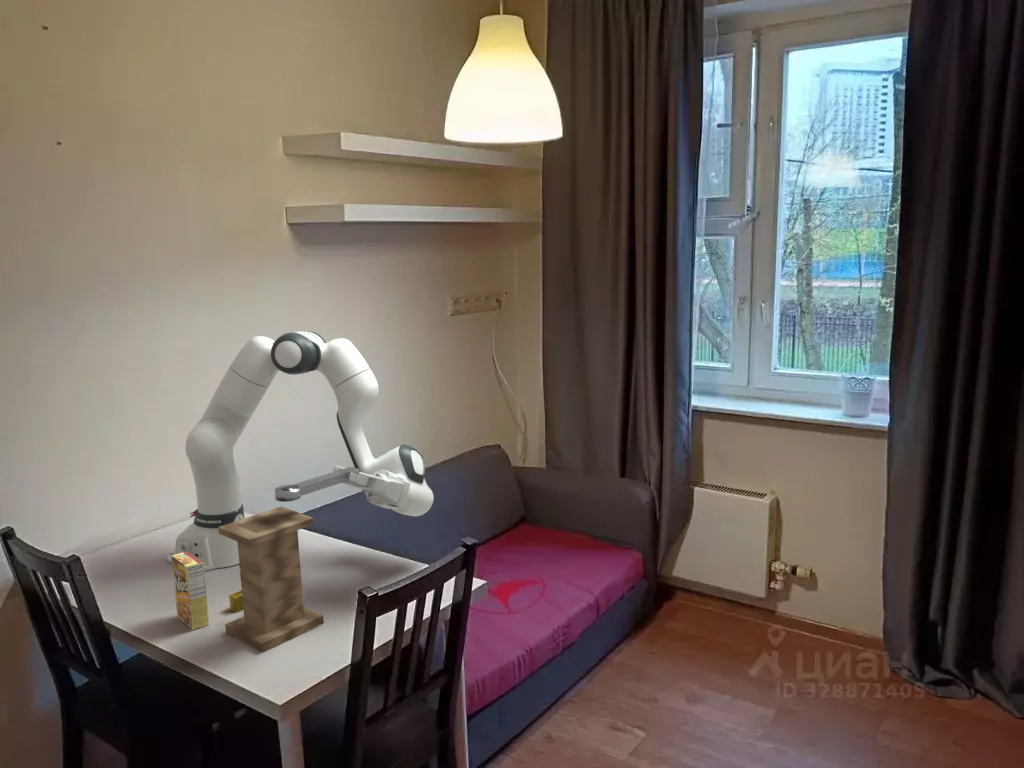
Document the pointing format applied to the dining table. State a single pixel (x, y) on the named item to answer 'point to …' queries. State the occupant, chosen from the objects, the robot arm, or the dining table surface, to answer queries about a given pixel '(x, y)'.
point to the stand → (270, 578)
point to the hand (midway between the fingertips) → (342, 473)
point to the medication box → (236, 602)
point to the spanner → (312, 485)
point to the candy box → (190, 590)
